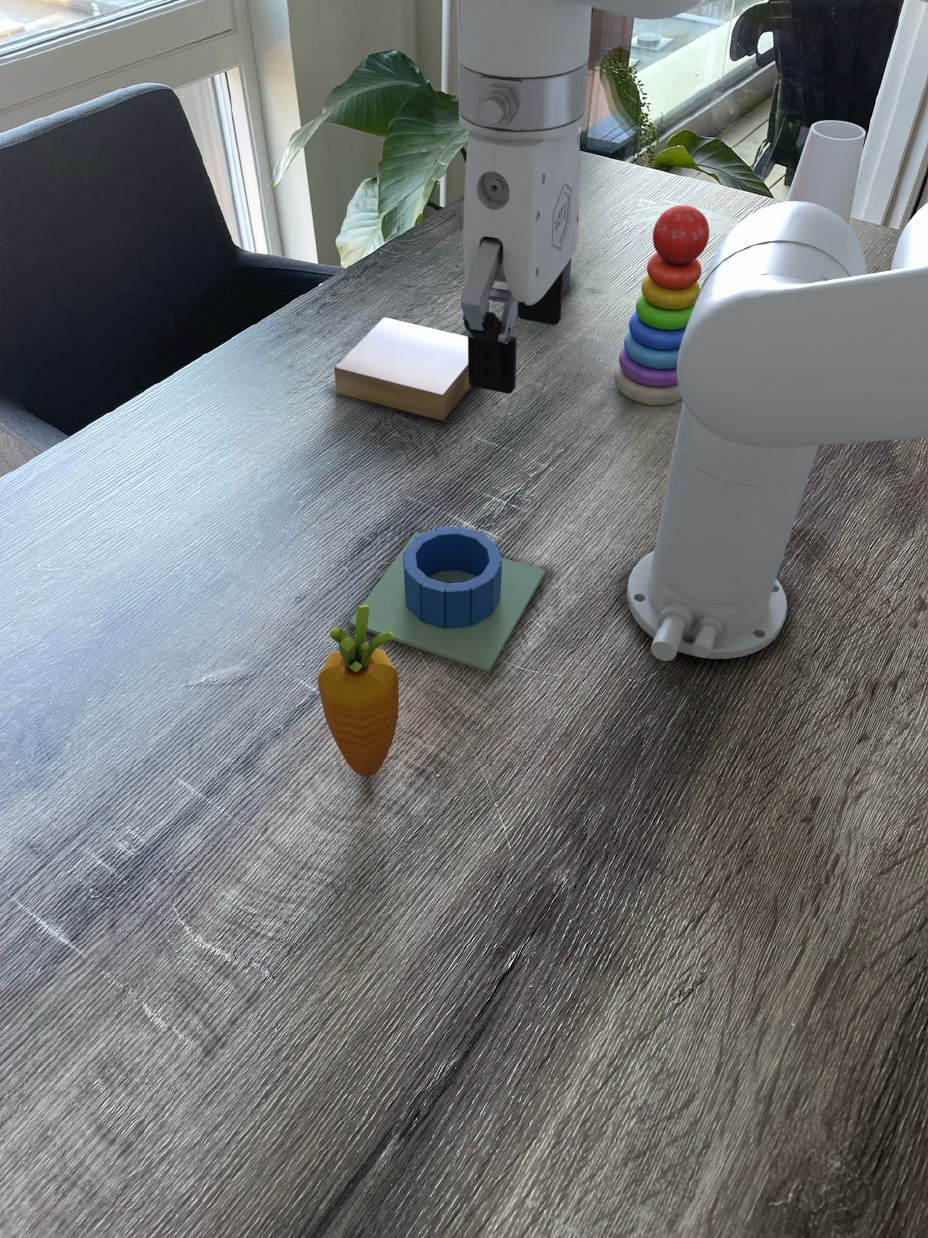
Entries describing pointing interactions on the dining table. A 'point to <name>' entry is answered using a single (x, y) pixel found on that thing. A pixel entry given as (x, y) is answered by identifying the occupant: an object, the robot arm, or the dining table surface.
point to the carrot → (360, 697)
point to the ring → (457, 599)
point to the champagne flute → (829, 167)
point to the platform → (407, 369)
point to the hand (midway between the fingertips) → (516, 352)
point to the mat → (456, 644)
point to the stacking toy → (663, 309)
